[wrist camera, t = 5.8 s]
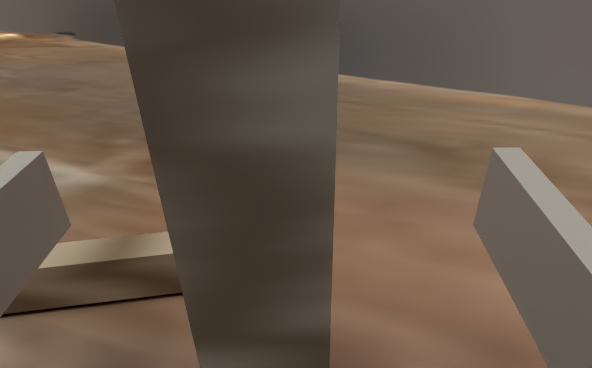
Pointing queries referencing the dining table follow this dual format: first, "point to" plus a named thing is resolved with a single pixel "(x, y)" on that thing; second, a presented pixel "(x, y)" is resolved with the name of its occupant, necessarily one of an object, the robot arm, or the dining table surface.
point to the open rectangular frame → (226, 180)
